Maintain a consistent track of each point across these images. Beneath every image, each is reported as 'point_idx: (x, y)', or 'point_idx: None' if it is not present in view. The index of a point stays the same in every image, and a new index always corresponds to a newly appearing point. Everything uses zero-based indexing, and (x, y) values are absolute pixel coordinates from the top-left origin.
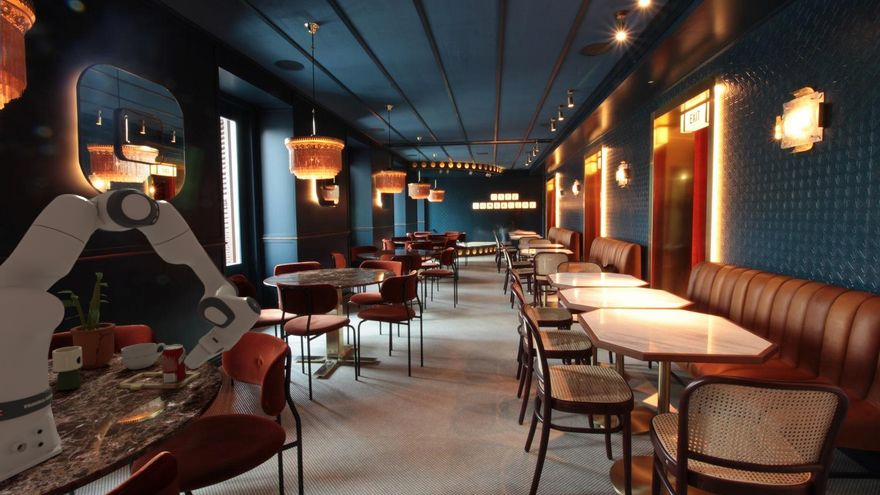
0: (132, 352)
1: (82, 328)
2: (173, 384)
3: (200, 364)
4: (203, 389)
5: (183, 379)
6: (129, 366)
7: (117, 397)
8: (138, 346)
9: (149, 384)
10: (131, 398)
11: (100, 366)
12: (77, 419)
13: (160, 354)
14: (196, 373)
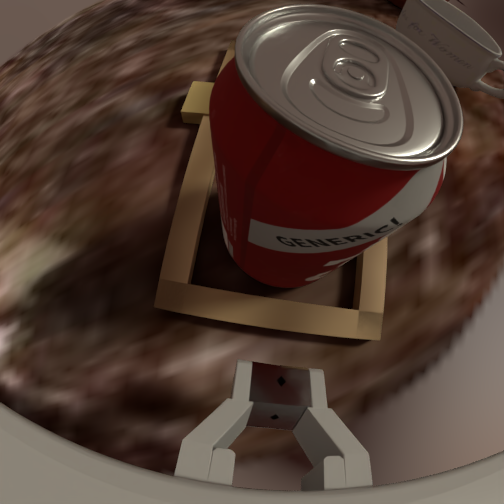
0: (416, 4)
1: None
2: (176, 263)
3: (277, 425)
4: (132, 441)
5: (268, 284)
6: None
7: (123, 94)
8: (473, 27)
9: (207, 137)
10: (91, 144)
11: (398, 5)
12: (6, 110)
13: (486, 89)
14: (364, 321)
